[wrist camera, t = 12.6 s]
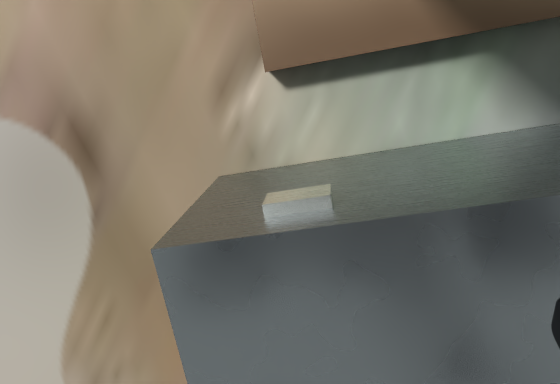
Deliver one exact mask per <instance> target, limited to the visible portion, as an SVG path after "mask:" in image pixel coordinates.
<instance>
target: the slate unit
mask: <svg viewBox="0 0 560 384" xmlns="http://www.w3.org/2000/svg"><path fill="white" fill-rule="evenodd" d="M151 253H152V256H153V260H154V263H155V267H156V271H157V274H158V278H159V282H160V285H161V289H162V292H163V296H164V300H165V303H166V307H167V311H168V314H169V318H170V321H171V325H172V329H173V332H174V336H175V340H176V343H177V347H178V350H179V354H180V358H181V361H182V365H183V369H184V372H185V376H186V379H187V383H188V384H560V349H559V347H558V345H557V343H556V341H555V339H554V336H553V334H552V329H551V323H552V318H553V314H554V309H555V304H556V301H557V300H558V299H559V298H560V124H554V125H548V126H541V127H535V128H528V129H522V130H515V131H509V132H503V133H496V134H490V135H483V136H477V137H470V138H464V139H458V140H451V141H445V142H438V143H432V144H425V145H419V146H413V147H406V148H400V149H393V150H387V151H380V152H374V153H368V154H361V155H355V156H348V157H342V158H335V159H329V160H323V161H316V162H310V163H303V164H297V165H290V166H284V167H278V168H271V169H265V170H258V171H252V172H245V173H239V174H233V175H226V176H220V177H218V178H217V179H216V180H215V181H214V182H213V184H212V185H211V186H210V187H209V188H208V189H207V190H206V191H205V192H204V193H203V194H202V195H201V196H200V197H199V198H198V200H197V201H196V202H195V203H194V204H193V205H192V206H191V207H190V208H189V209H188V210H187V211H186V212H185V213H184V215H183V216H182V217H181V218H180V219H179V220H178V221H177V222H176V223H175V224H174V225H173V226H172V227H171V228H170V230H169V231H168V232H167V233H166V234H165V235H164V236H163V237H162V238H161V239H160V240H159V241H158V242H157V243H156V244H155V246H154V247H153V248H152V249H151Z"/></svg>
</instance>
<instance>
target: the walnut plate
mask: <svg viewBox="0 0 560 384" xmlns="http://www.w3.org/2000/svg"><path fill="white" fill-rule="evenodd" d="M252 4H253V9H254V15H255V20H256V25H257V31H258V36H259V42H260V47H261V52H262V58H263V63H264V68H265V72H269V71H274V70H279V69H284V68H290V67H295V66H300V65H306V64H311V63H316V62H322V61H327V60H332V59H337V58H343V57H348V56H353V55H359V54H364V53H369V52H375V51H380V50H385V49H391V48H396V47H401V46H406V45H412V44H417V43H422V42H428V41H433V40H438V39H444V38H449V37H454V36H459V35H465V34H470V33H475V32H481V31H486V30H491V29H497V28H502V27H507V26H512V25H518V24H523V23H528V22H534V21H539V20H544V19H550V18H555V17H560V0H252Z"/></svg>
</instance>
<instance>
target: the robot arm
mask: <svg viewBox="0 0 560 384" xmlns="http://www.w3.org/2000/svg"><path fill="white" fill-rule="evenodd" d="M551 329H552V334H553V336H554V339H555V341H556V343H557V345H558V347H559V349H560V298H559V299H558V300H557V301H556V304H555V309H554V314H553V318H552V323H551Z"/></svg>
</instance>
